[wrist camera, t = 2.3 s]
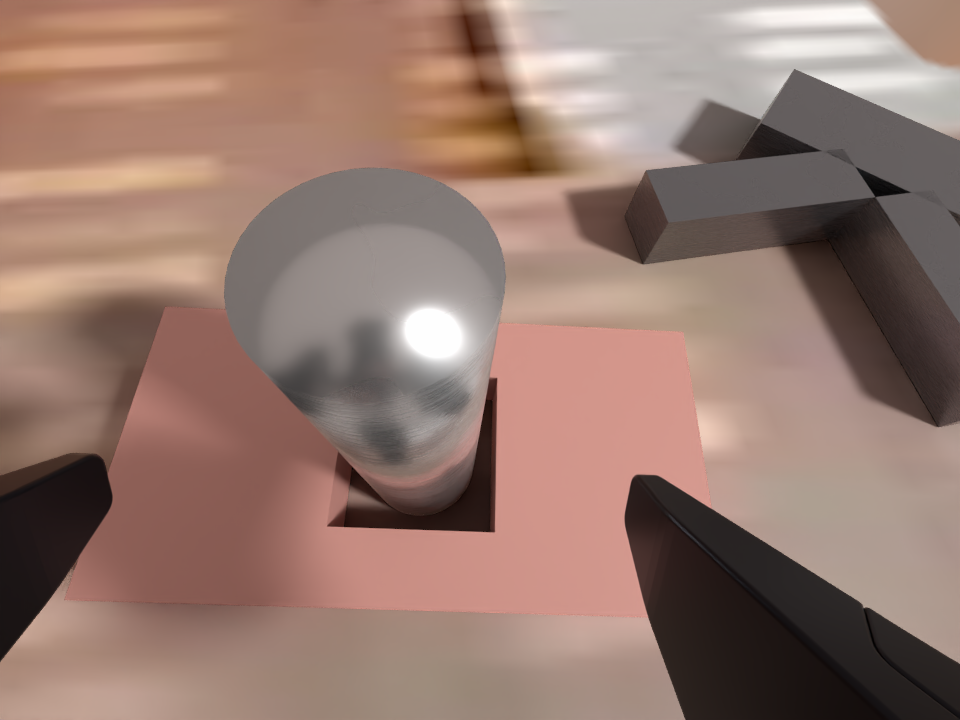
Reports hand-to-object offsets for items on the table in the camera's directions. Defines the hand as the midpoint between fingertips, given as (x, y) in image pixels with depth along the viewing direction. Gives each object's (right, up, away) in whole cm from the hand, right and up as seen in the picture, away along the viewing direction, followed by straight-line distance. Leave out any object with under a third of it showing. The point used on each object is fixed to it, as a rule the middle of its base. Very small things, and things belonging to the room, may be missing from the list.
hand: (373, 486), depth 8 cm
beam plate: (0, -2, +11) cm, 11 cm away
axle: (0, -2, +11) cm, 11 cm away
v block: (+19, +8, +16) cm, 26 cm away
